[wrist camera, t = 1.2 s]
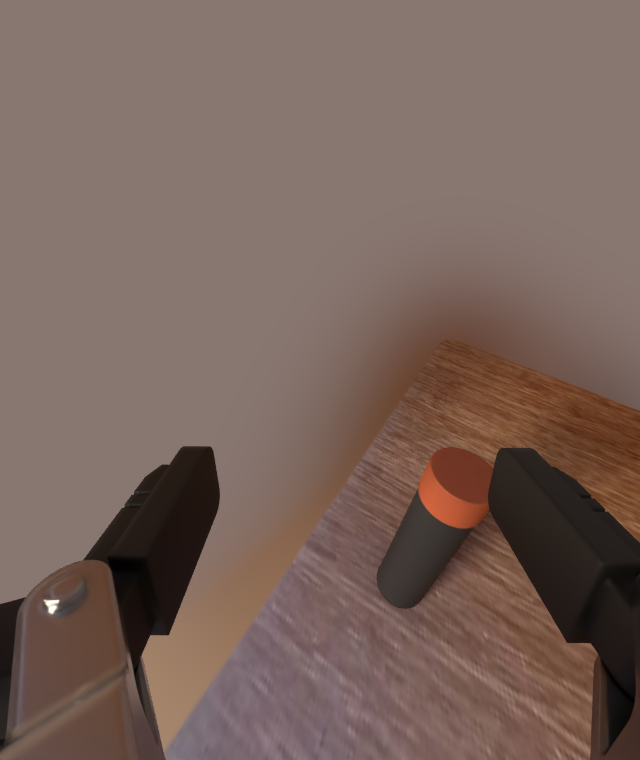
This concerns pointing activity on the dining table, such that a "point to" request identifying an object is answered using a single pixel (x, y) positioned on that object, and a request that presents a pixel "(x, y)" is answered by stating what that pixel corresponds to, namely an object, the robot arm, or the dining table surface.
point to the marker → (435, 524)
